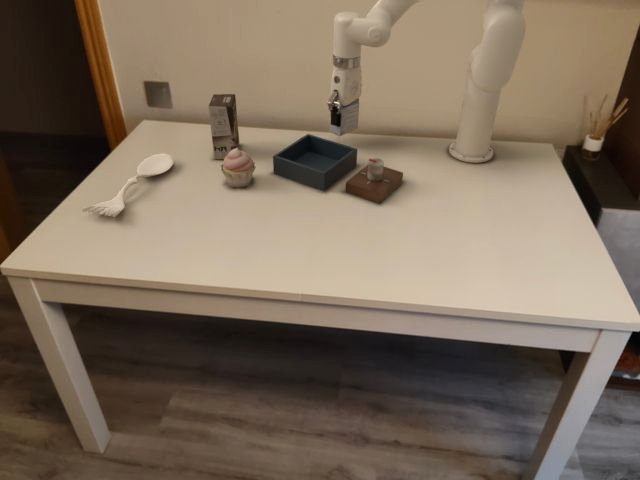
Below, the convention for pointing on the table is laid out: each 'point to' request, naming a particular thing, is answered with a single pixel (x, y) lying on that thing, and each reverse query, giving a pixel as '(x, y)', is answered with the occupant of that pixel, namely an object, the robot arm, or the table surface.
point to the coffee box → (223, 124)
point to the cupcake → (238, 168)
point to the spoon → (145, 169)
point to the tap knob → (375, 169)
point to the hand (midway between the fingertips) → (344, 119)
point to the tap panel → (374, 184)
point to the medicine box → (346, 119)
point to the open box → (315, 162)
